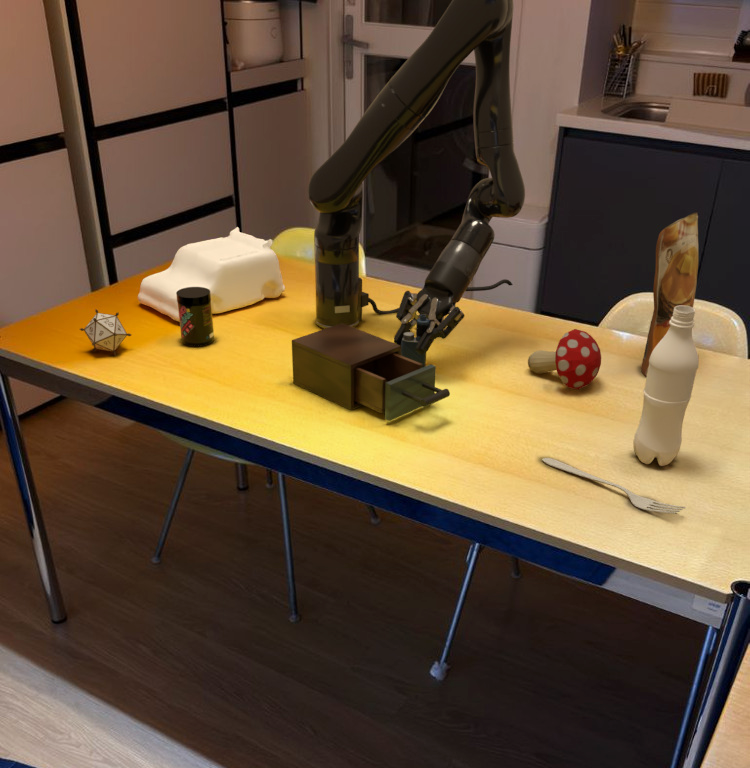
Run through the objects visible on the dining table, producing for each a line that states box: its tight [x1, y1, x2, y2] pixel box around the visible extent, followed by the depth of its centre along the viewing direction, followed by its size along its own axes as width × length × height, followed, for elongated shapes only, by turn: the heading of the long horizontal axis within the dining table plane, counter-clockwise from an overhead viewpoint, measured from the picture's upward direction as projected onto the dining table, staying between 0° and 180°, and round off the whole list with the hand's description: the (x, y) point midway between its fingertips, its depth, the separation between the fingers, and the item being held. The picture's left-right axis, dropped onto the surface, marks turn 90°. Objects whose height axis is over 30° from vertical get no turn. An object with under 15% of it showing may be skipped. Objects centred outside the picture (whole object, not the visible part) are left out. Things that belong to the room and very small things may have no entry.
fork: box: [541, 457, 687, 515], centre depth 133 cm, size 3×24×2 cm, turn 44°
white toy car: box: [137, 226, 286, 323], centre depth 198 cm, size 19×30×13 cm, turn 133°
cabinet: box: [291, 323, 401, 411], centre depth 161 cm, size 16×13×9 cm
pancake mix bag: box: [640, 211, 699, 377], centre depth 167 cm, size 7×19×28 cm, turn 136°
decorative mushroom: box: [527, 328, 602, 391], centre depth 165 cm, size 11×11×15 cm
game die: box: [79, 308, 132, 356], centre depth 174 cm, size 9×8×10 cm
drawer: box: [354, 353, 451, 422], centre depth 154 cm, size 20×11×7 cm, turn 45°
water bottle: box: [633, 306, 700, 467], centre depth 135 cm, size 7×7×25 cm
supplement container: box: [176, 287, 215, 348], centre depth 178 cm, size 7×7×10 cm
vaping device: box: [401, 314, 429, 367], centre depth 165 cm, size 3×5×12 cm, turn 78°
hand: (407, 348), depth 164 cm, fingers closed on vaping device, 5 cm apart
